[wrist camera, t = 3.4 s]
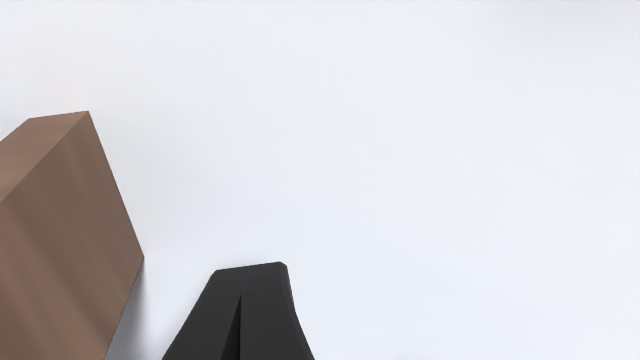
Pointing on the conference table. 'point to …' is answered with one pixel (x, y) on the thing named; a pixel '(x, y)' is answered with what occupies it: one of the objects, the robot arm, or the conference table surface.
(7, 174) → the brown wooden block
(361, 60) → the conference table surface
